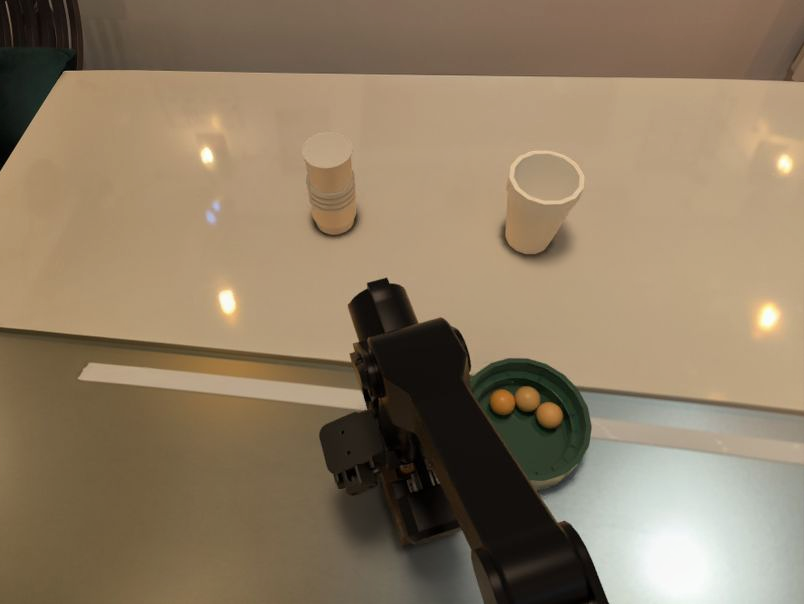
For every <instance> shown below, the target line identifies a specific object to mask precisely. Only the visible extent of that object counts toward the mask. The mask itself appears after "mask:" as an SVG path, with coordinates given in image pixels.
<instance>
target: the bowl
mask: <svg viewBox="0 0 804 604" xmlns="http://www.w3.org/2000/svg"><path fill="white" fill-rule="evenodd" d="M470 383H471V391H472V394H473V395H474V397H475V398H476V400H477V401H478V403H479V404H480V406H481V407H482V409H483V411H484V412H485V414H486V415H487V417H488V418H489V420H490V421H491V423H492V424H493V426H494V427H495V429H496V430H497V432H498V433H499V435H500V436H501V438H502V439H503V441H504V442H505V444H506V445H507V447H508V448H509V450H510V451H511V453H512V454H513V456H514V457H515V459H516V460H517V462H518V463H519V465H520V467H521V468H522V470H523V471H524V473H525V474H526V476H527V477H528V479H529V480H530V482H531V483H532V485H533V486H534V488H535V489H536V491H537V492H538V491H542V490H545V489H548V488H550V487H554V486H557V485H558V484H559V483H561V482H562V481H563V480H564V479H565V478H567V477H568V476H569V475H570V474H571V473H572V472H573V471H574V469H576V467H577V466H578V465H579V464H580V462H581V461H582V460H583V458H584V456H585V455H586V453H587V450H588V449H589V447H590V444H591V435H592V429H593V428H592V427H593V425H592V421H591V415H590V411H589V407H588V405H587V403H586V401H585V399H584V397H583V395H582V394H581V391H580V390H579V388H578V387H577V386H576V385H575V384H574V383H573V382H572V381H571V380H570V379H569V378H568V377H567V376H566V375H565V374H564V373H562V372H561V371H558V370H557V369H556V368H554V367H552V366H551V365H549V364H548V363H544V362H541V361H538V360H534V359H531V358H527V357H526V358H523V357H509V358H508V357H507V358H504V359H499V360H497V361H494V362H489V364H487V365H486V366H484V367H483V368H482V369H480V370H478V371H477V372H476V373H475V374H474V375H473V377H472V378H471V379H470ZM524 386H529V387H532V388H534V389H535V390H537V392H538V393H539V395H540V405H541V404H543V403H545V402H551V403H554V404H556V405H558V406H559V407H560V409H561V410H562V413H563V420H562V422H561V424H560V425H559V426H558V427H556V428H545V427H543V426H542V425H541V424H540V423H539V422H538V420H537V417H536V411H537V409H536V410H534V411H531V412H525V411H522V410H521V409H519V408H518V407H517V405H516V404H515V408H514V410H513V411H512V412H511V413H509V414H507V415H499V414H497V413H495V412H494V411H493V410H492V408H491V407H490V402H489V401H490V397H491V395H492V393H493V392H495V391H496V390H500V389H503V390H507V391H509V392H510V393H511V394H512V395H513V396H515V393H516V391H517V390H518V389H519V388H521V387H524ZM540 405H539V406H540ZM539 406H538V407H539Z"/></svg>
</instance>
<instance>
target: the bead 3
mask: <svg viewBox="0 0 804 604" xmlns="http://www.w3.org/2000/svg"><path fill="white" fill-rule="evenodd" d="M536 417H537V420H538V422H539V423H540V424H541V425H542V426H543V427H545V428H556V427H558V426H559V425H560V424H561V422H562V420H563V413H562V410H561V409H560V407H559V406H558V405H556V404H554V403H551V402H545V403H543V404H541V405H540V406H539V407H538V408H537V411H536Z"/></svg>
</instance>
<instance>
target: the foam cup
mask: <svg viewBox="0 0 804 604" xmlns="http://www.w3.org/2000/svg"><path fill="white" fill-rule="evenodd" d="M507 175H508V176H507V181H506V188H505V189H506V192H507V195H506V216H505V217H506V218H505V235H504V236H505V240H506V241H507V244H508V245H509V246H510V247H511V248H512V249H513V250H514V251H515V252H518V253H521V254H524V255H537V254H540V253H541V252H544V251H545V250H546V249H547V247H548V246H549V245H550V243H551V242H552V240H553V239H554V237H555V236H556V234H557V232H558V231H559V229H560V228H561V227H562V225H563V223H564V221H565V220H566V219H567V217H568V216H569V213H570V212H571V211H572V210H573V208H574V207H575V206H576V204H577V203H579V201H580V199H581V196H582V194H583V192H584V189H585V175H584V172H583V171H582V169H581V168H580V166H579V164H578V163H577V162H575V161H574V160H573V159H571V158H570V157H568V156H567V155H565V154H562V153H559V152H555V151H553V150H531V151H529V152H526V153H523V154H520V155H519V156H518V157H517V158H516V159H515V160H514V161H513V162H512V164H510V167H509V171H508V174H507Z"/></svg>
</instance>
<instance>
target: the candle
mask: <svg viewBox="0 0 804 604" xmlns="http://www.w3.org/2000/svg"><path fill="white" fill-rule="evenodd" d="M353 151H354V150H353V144H352V142H351V140H350V139H349V138H348V137H347V136H346V135H344V134H342V133H339V132H336V131H322V132H319V133H315V134H314V135H311V136H309V138H308V139H306V141H305V142H304V143H303V146H302V148H301V156H302V158H303V161H304V162H305V168H306V177H305V180H306V188H307V194H308V200H309V203H310V206H311V216H312V218H313V220H314V221H315V224H316V226H317V228H318V229H319V231H321V232H323V233H325V234H327V235H333V236H335V235H341V234H344V233H346V232H347V231H349V230H350V229H351V228H352V227H353V225H354V223H355V217H356V215H357V204H356V197H357V192H356V178H355V177H356V175H355V172H354V170H353V167H352V166H353V165H352V164H353V163H352V155H353Z"/></svg>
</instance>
